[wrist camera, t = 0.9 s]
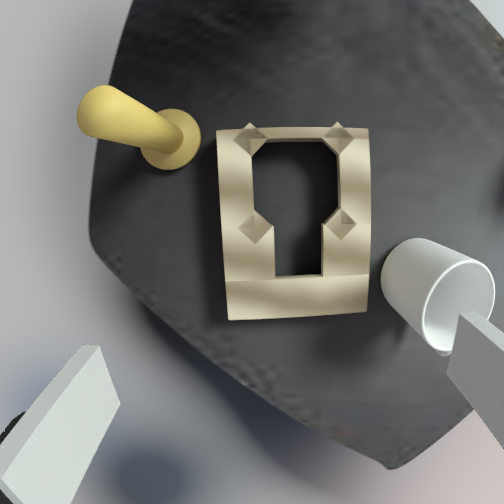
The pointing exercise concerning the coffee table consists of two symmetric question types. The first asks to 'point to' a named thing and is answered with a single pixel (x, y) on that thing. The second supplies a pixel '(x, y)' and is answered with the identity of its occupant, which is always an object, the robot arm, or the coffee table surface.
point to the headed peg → (140, 127)
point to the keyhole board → (262, 233)
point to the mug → (435, 289)
